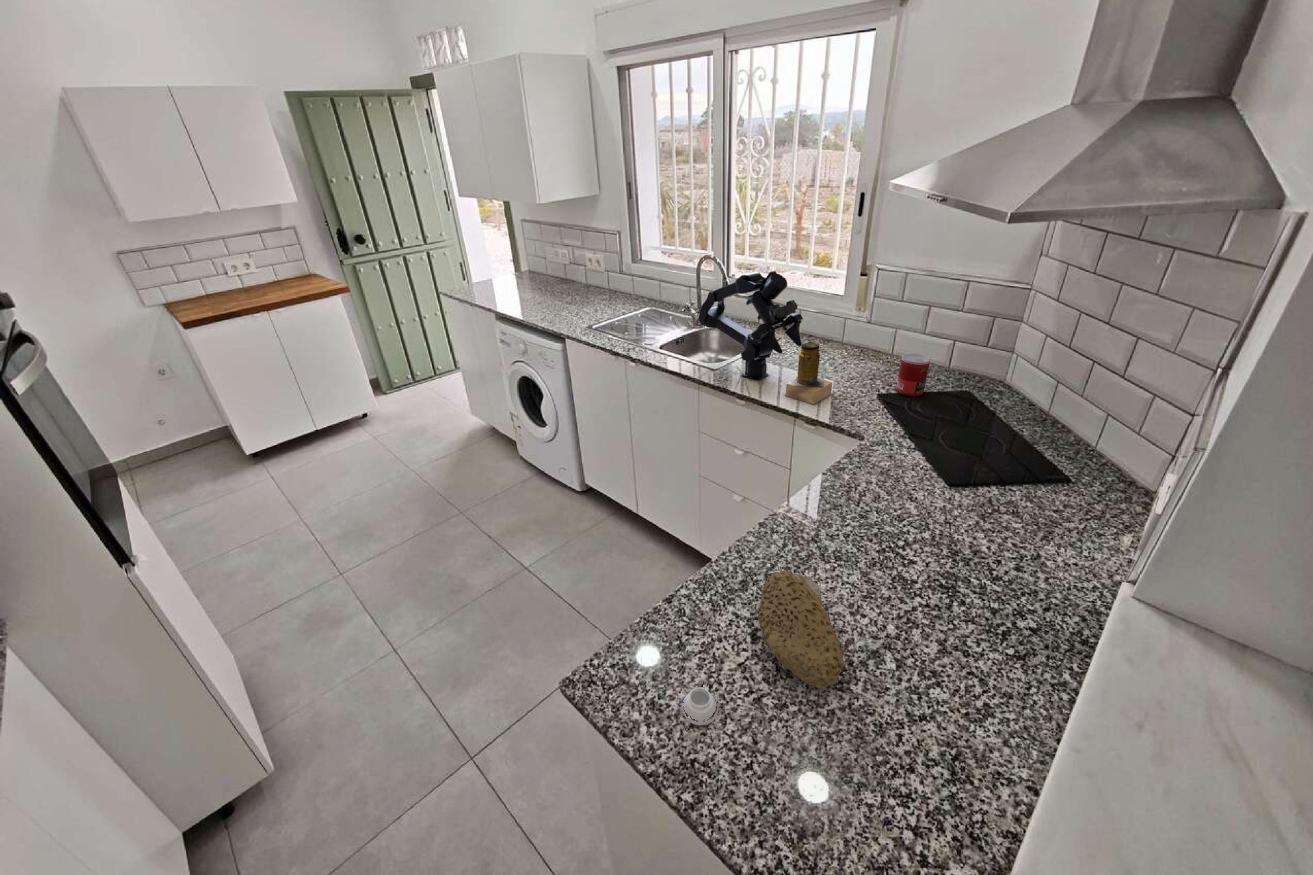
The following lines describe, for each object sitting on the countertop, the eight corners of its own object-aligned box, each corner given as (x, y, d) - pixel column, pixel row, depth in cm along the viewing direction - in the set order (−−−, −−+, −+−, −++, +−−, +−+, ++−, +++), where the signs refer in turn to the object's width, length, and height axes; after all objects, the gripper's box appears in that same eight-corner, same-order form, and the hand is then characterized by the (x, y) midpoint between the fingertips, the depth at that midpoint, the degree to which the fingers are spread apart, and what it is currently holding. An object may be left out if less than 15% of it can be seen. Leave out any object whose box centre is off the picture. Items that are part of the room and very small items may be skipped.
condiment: (796, 377, 170) (799, 340, 165) (824, 378, 168) (828, 341, 163) (795, 386, 164) (798, 348, 158) (824, 387, 162) (828, 349, 156)
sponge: (757, 596, 96) (745, 673, 78) (769, 559, 94) (759, 629, 75) (831, 620, 94) (837, 705, 75) (845, 583, 91) (854, 661, 73)
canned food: (919, 398, 162) (927, 364, 157) (892, 393, 166) (898, 359, 161) (926, 390, 167) (933, 356, 162) (899, 384, 172) (905, 351, 166)
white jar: (724, 716, 75) (705, 688, 79) (725, 702, 74) (705, 675, 78) (694, 733, 73) (675, 704, 77) (694, 719, 72) (675, 690, 76)
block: (785, 395, 168) (786, 383, 166) (803, 385, 174) (804, 374, 172) (813, 404, 162) (815, 392, 160) (831, 394, 168) (832, 382, 166)
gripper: (760, 298, 158) (787, 343, 155) (800, 287, 168) (826, 328, 165) (740, 319, 167) (765, 362, 165) (779, 307, 177) (803, 347, 175)
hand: (791, 349), depth 167 cm, fingers open, 9 cm apart
